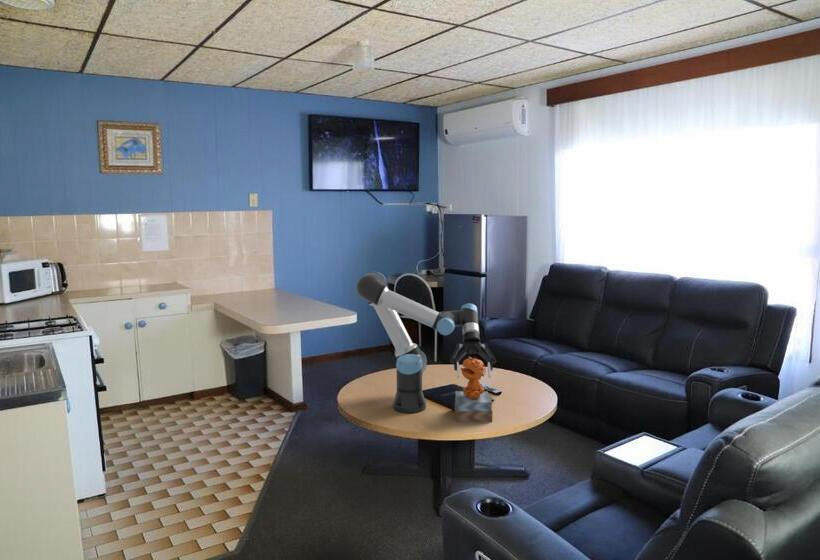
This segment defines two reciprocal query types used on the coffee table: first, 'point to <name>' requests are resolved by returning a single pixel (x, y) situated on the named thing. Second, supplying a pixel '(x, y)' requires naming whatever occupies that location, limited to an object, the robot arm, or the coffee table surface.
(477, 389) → the orange figurine
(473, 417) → the grey square block
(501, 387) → the coffee table surface
